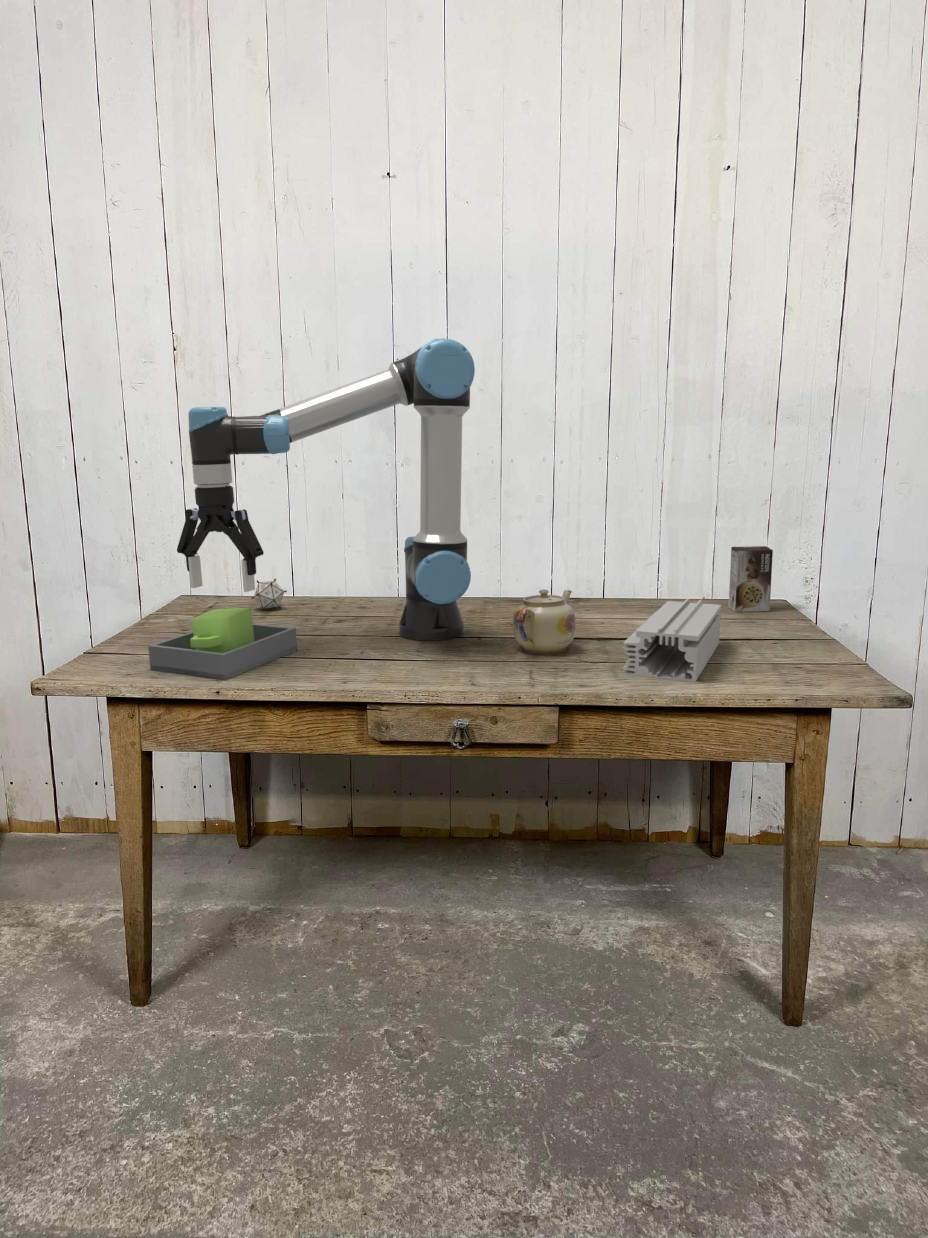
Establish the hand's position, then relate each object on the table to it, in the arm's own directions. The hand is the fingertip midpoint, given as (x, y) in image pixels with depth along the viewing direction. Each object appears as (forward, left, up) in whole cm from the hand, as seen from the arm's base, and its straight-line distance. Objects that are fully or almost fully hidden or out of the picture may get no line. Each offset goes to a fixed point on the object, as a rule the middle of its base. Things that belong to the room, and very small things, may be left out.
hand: (222, 589), depth 182 cm
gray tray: (0, 0, -15) cm, 15 cm away
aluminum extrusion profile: (-86, -36, -16) cm, 95 cm away
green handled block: (+1, 0, -14) cm, 14 cm away
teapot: (-59, -34, -15) cm, 69 cm away
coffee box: (-95, -91, -15) cm, 132 cm away
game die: (+22, -45, -15) cm, 52 cm away
